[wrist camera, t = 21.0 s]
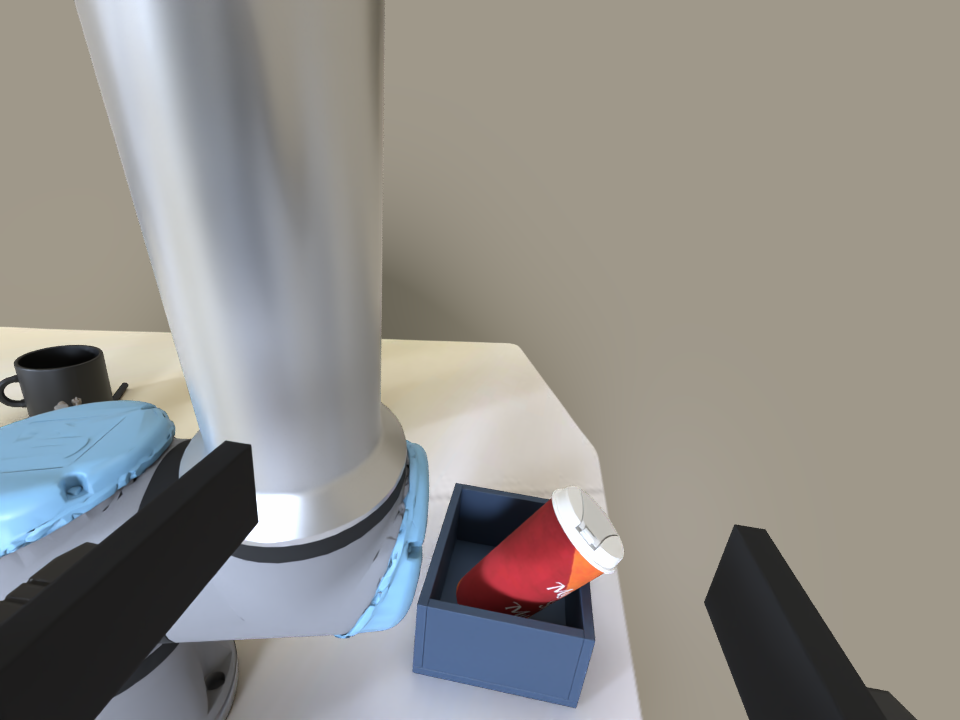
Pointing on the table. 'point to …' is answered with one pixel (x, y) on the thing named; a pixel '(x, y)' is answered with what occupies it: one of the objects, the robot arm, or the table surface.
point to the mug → (59, 378)
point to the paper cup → (545, 557)
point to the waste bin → (492, 635)
